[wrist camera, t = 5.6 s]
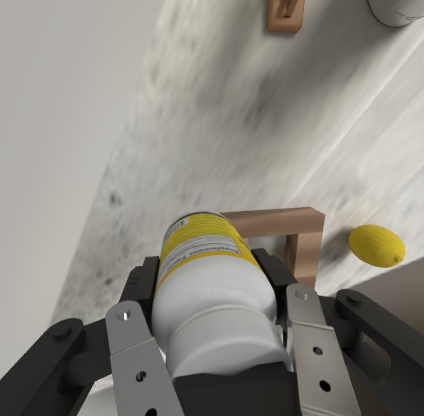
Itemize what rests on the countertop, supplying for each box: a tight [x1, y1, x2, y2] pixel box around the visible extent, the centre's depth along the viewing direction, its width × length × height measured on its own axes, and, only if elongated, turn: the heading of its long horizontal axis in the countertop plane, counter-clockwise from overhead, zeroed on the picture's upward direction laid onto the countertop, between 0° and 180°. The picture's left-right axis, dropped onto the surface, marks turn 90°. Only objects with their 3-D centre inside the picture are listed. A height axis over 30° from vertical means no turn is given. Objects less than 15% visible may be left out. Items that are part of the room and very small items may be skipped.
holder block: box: [219, 207, 325, 289], centre depth 31 cm, size 12×14×4 cm
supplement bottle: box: [151, 210, 293, 388], centre depth 11 cm, size 5×5×10 cm
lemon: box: [348, 225, 405, 268], centre depth 31 cm, size 6×6×8 cm
